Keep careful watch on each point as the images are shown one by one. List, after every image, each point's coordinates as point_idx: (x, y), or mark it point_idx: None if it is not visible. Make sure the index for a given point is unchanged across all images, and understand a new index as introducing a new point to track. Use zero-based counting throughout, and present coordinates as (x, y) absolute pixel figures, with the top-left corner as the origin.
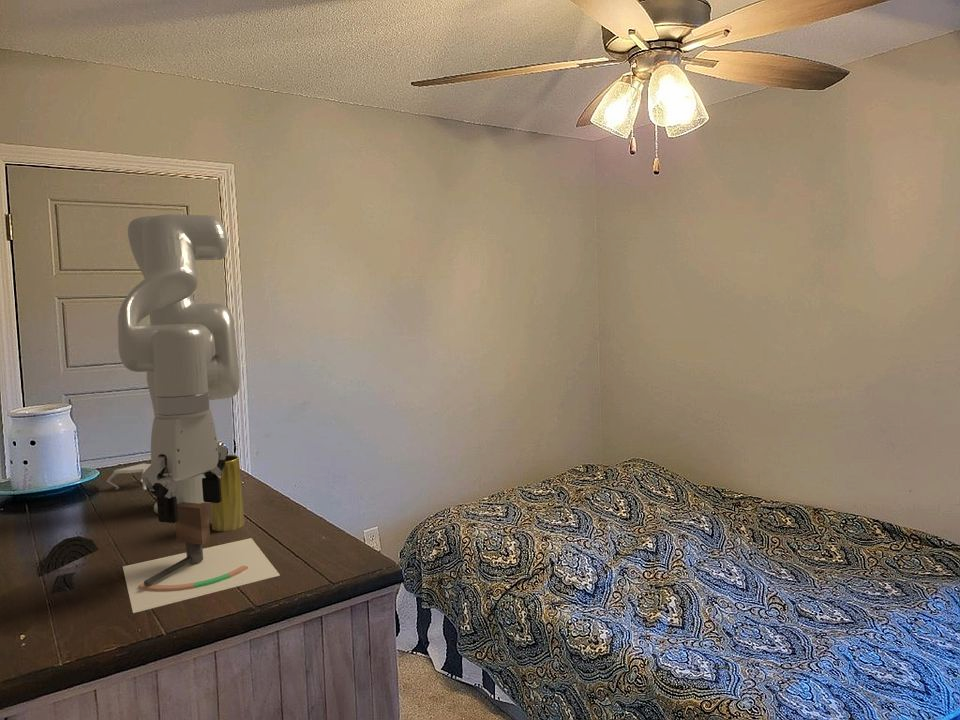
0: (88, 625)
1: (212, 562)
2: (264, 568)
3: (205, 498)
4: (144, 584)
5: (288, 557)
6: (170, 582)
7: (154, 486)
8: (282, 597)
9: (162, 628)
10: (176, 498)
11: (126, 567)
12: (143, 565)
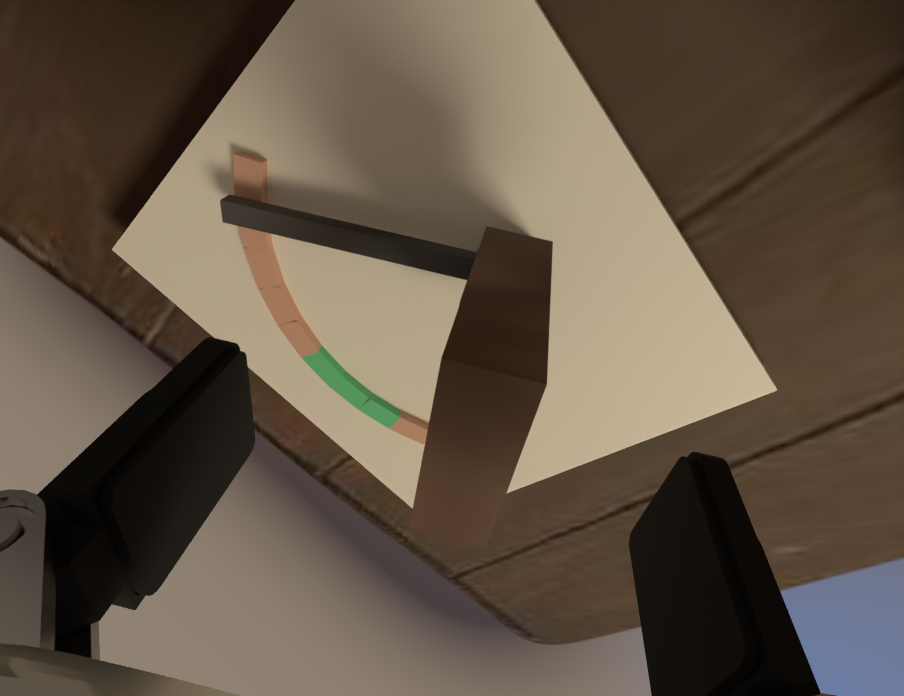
0: (52, 78)
1: None
2: None
3: (678, 490)
4: (228, 196)
5: (619, 489)
6: (316, 257)
7: None
8: (374, 511)
9: (160, 324)
10: (159, 587)
11: None
12: None
